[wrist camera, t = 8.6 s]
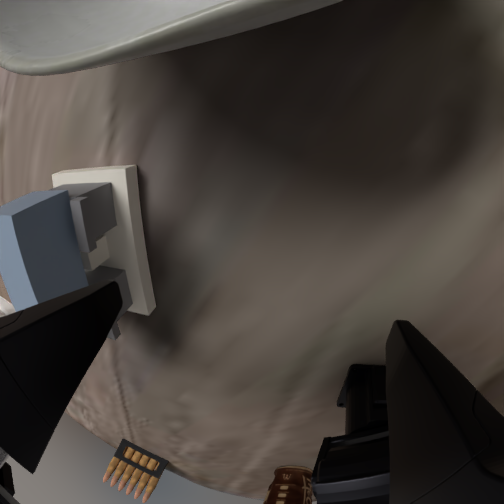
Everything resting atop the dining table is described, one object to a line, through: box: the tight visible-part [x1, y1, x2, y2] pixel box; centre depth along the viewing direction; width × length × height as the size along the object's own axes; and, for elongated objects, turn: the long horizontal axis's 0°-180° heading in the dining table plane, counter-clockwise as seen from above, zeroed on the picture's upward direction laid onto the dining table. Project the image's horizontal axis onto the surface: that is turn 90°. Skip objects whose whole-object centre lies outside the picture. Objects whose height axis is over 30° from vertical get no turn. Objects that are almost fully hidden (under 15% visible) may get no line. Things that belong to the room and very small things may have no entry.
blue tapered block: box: [0, 190, 89, 312], centre depth 17 cm, size 12×4×5 cm, turn 179°
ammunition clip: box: [103, 439, 168, 503], centre depth 42 cm, size 11×2×12 cm, turn 70°
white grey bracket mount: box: [48, 165, 156, 340], centre depth 21 cm, size 13×9×6 cm
